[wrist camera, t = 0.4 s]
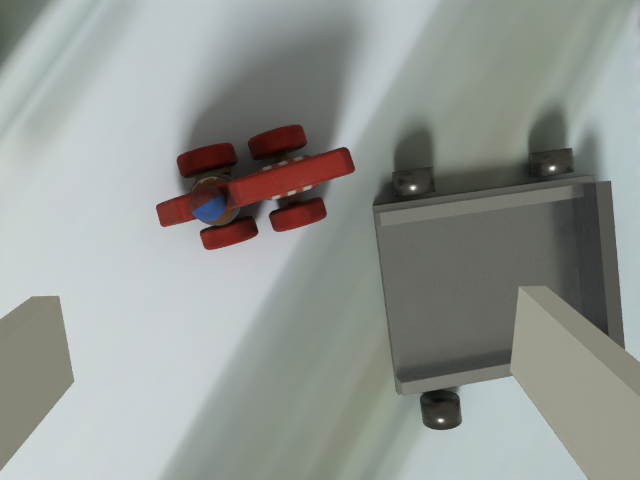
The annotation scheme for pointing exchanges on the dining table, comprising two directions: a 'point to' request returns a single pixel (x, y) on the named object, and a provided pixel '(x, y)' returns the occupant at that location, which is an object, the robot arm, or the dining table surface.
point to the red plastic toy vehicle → (252, 186)
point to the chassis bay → (488, 273)
